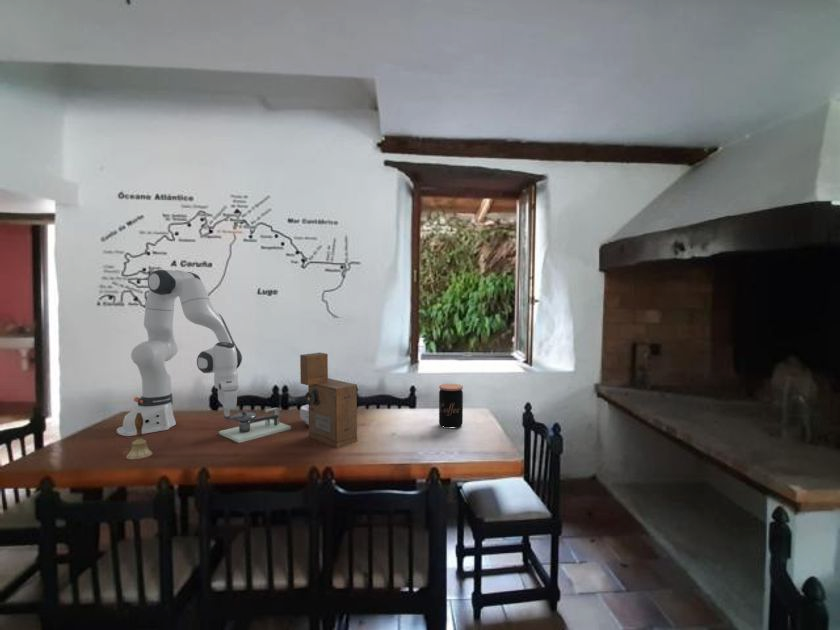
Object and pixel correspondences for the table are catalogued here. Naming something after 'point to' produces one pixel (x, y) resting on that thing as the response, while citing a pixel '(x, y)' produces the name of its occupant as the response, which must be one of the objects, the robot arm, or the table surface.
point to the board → (254, 430)
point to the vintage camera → (328, 402)
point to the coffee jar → (450, 405)
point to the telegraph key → (248, 420)
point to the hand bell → (139, 442)
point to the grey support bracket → (267, 422)
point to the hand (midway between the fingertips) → (227, 416)
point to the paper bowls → (305, 413)
